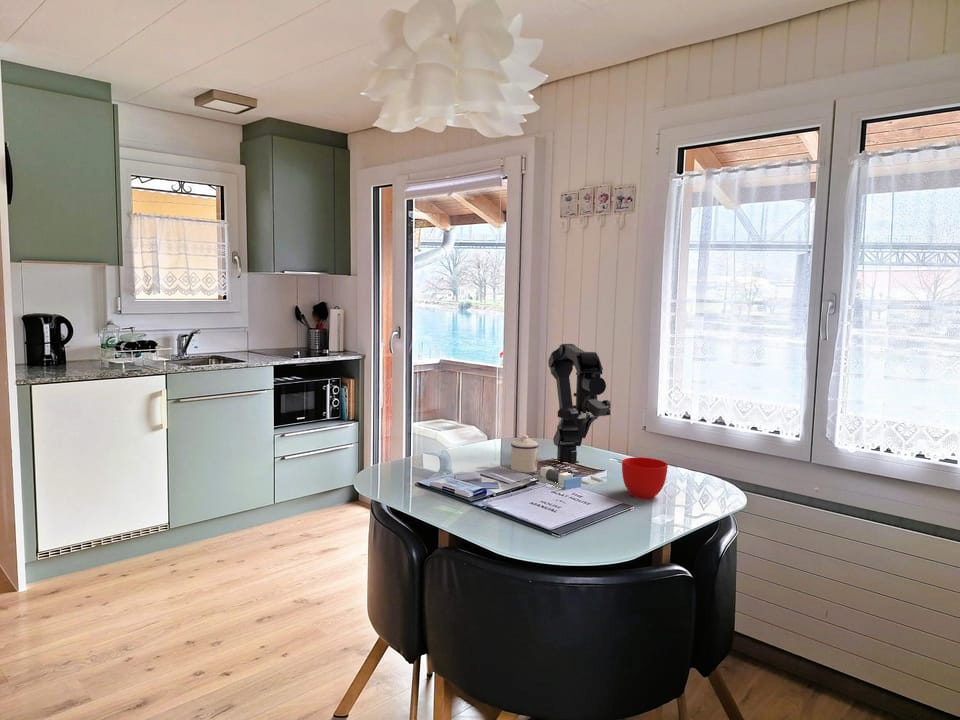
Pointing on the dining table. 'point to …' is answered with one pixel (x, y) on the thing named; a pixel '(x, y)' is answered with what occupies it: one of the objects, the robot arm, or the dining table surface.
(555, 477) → the cream and grey dumbbell
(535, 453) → the cream lidded jar
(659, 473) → the ceramic cup
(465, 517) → the dining table surface
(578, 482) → the white ribbed plate
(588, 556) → the dining table surface
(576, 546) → the dining table surface
